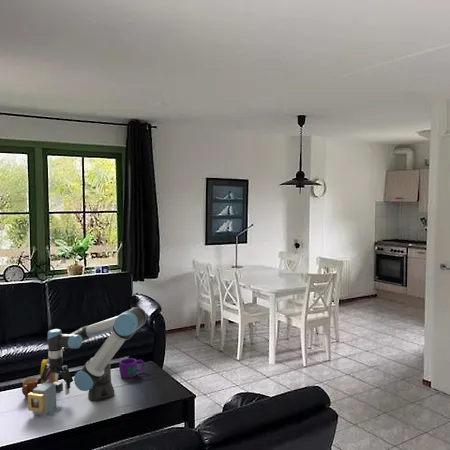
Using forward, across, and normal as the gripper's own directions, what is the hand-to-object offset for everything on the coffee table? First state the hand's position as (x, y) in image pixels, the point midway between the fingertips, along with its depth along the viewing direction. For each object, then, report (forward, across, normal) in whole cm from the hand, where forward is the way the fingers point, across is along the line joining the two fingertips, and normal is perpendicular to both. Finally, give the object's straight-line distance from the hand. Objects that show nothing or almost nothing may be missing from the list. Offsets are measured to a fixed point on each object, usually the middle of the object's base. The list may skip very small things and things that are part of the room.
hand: (57, 392), depth 274 cm
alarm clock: (+6, +18, -18) cm, 26 cm away
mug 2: (+6, -23, -48) cm, 54 cm away
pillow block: (+6, 0, +11) cm, 12 cm away
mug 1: (+6, +20, -1) cm, 21 cm away
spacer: (+2, 0, +18) cm, 18 cm away
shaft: (-1, 0, +9) cm, 9 cm away
